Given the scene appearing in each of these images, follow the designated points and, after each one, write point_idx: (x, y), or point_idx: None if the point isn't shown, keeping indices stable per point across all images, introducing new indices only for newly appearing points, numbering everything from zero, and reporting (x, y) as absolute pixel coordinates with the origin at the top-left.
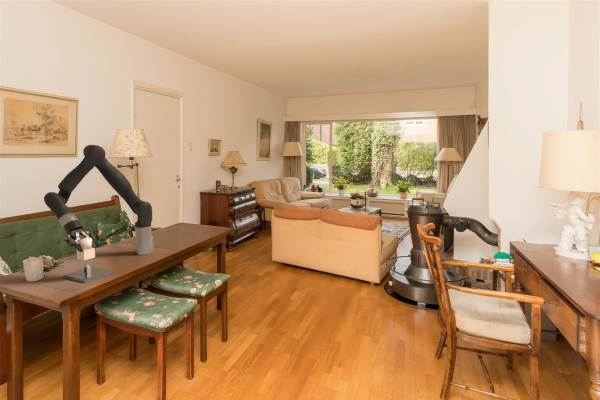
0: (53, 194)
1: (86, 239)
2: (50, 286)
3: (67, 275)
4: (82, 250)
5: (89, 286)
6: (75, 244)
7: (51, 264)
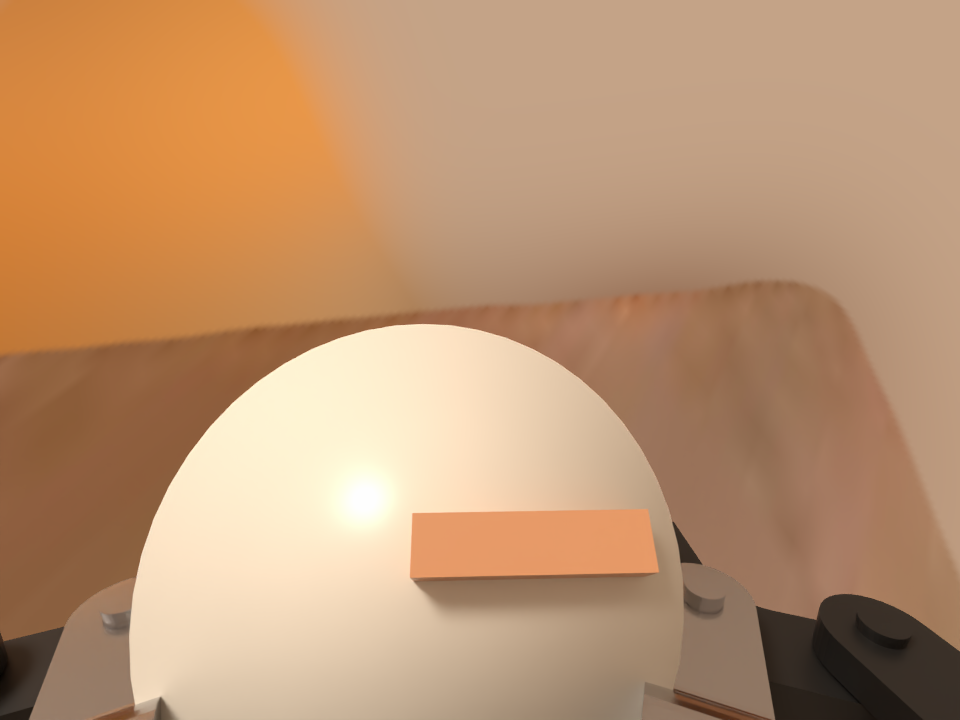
0: None
1: (457, 395)
2: None
3: None
4: None
5: (604, 336)
6: (760, 608)
7: None
